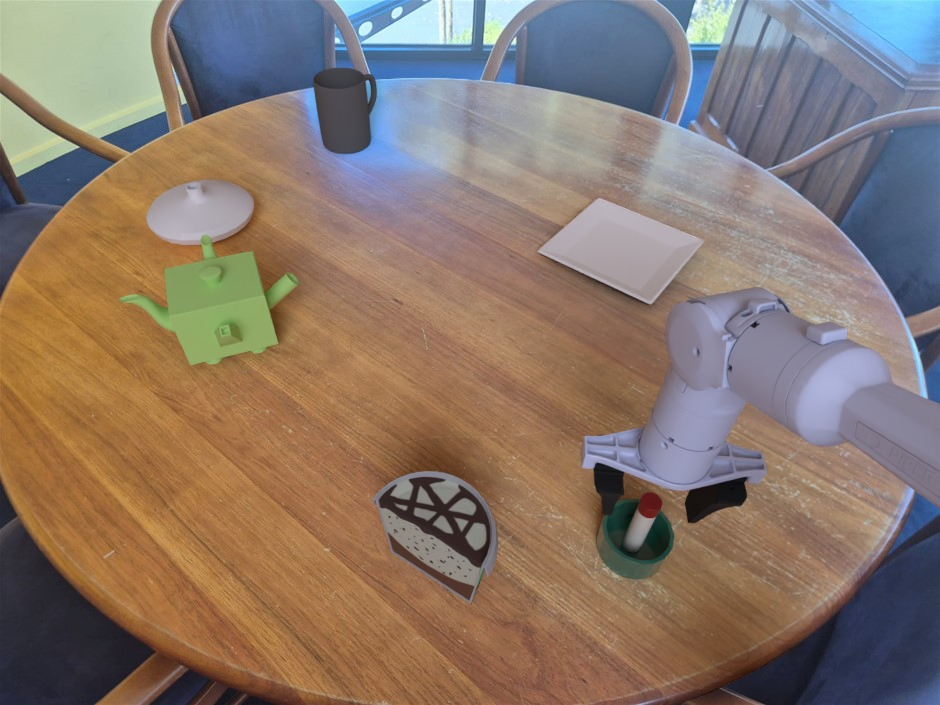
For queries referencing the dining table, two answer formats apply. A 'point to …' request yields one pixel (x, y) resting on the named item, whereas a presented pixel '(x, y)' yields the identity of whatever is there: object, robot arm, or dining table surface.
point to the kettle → (218, 305)
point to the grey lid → (200, 212)
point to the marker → (642, 521)
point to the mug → (344, 108)
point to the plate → (622, 249)
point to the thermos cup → (650, 551)
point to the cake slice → (440, 529)
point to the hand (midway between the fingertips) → (647, 509)
